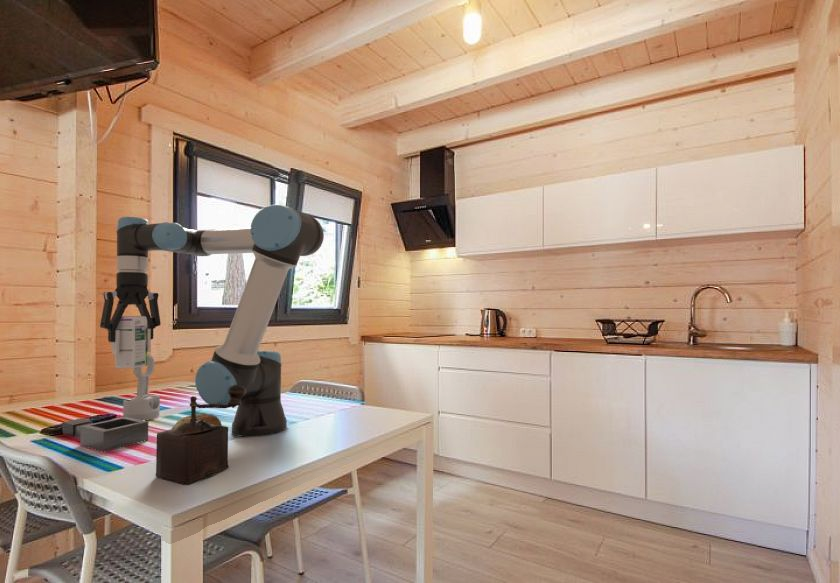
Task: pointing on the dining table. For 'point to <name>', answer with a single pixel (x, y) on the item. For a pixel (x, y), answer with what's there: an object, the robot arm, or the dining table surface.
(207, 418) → the bread roll
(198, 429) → the coffee grinder
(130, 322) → the syrup box
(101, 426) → the grey storage bin
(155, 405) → the engine component
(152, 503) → the dining table surface
